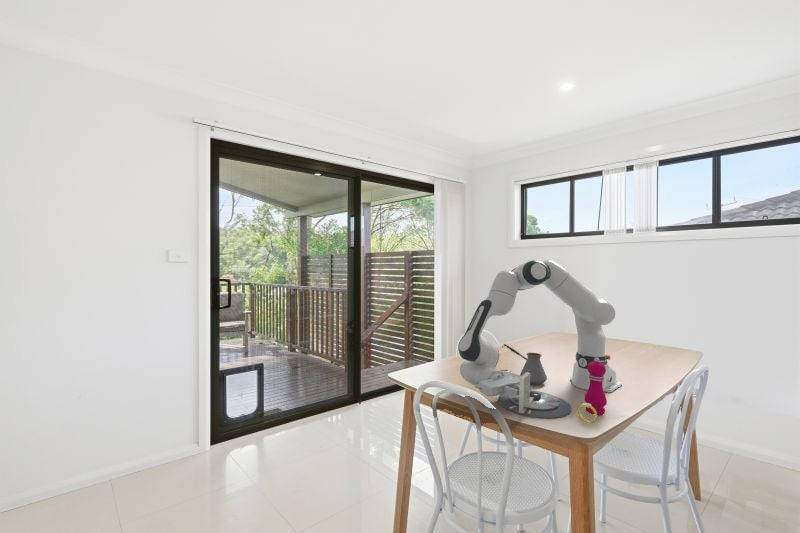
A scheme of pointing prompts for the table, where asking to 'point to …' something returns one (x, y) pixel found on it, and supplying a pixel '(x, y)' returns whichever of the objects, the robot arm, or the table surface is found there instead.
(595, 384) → the pepper mill
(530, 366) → the coffee pot
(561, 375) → the table surface
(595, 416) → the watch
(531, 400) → the dial
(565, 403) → the dial base
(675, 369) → the table surface
